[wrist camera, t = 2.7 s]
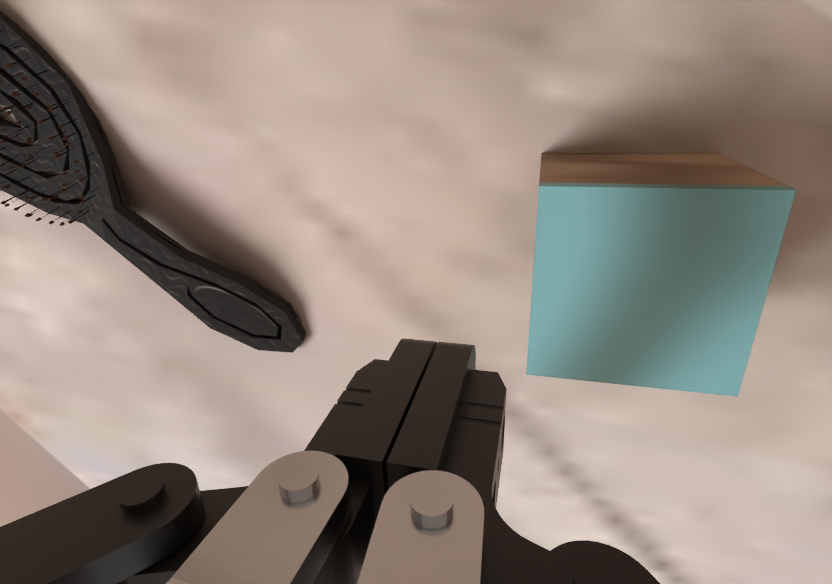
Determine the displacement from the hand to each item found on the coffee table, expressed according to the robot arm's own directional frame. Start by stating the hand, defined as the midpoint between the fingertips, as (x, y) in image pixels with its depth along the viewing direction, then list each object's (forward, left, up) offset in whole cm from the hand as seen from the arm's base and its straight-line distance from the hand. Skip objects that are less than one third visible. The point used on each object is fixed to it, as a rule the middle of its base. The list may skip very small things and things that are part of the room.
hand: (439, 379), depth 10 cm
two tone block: (+5, 0, -11) cm, 12 cm away
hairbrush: (-19, +2, -12) cm, 22 cm away
